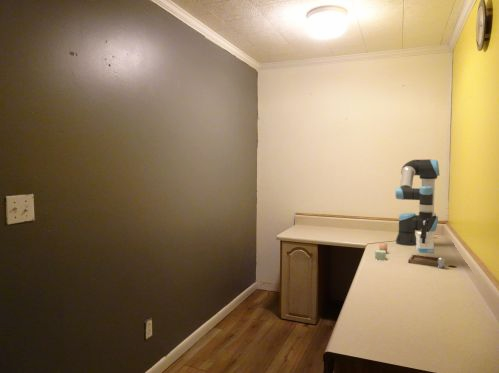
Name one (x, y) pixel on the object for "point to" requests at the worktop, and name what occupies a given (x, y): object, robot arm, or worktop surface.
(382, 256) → the sage block
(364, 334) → the worktop surface
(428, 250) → the ink box
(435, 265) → the tray
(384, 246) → the terracotta cup
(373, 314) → the worktop surface
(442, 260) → the grey peg
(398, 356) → the worktop surface
